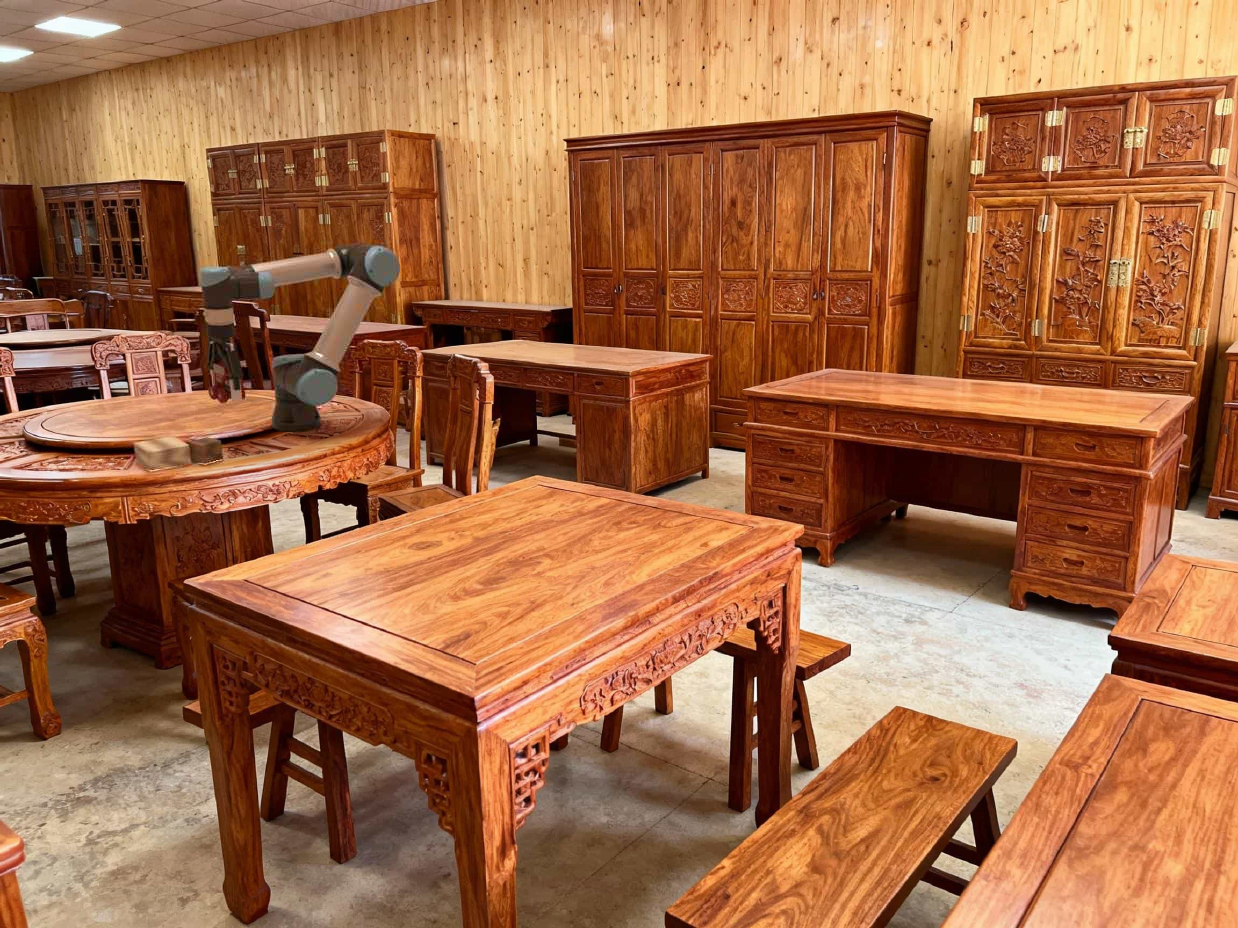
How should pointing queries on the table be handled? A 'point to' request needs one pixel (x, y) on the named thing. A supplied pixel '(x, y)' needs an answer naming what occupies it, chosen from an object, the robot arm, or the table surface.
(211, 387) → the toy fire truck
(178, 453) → the birch block
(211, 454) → the walnut cube
